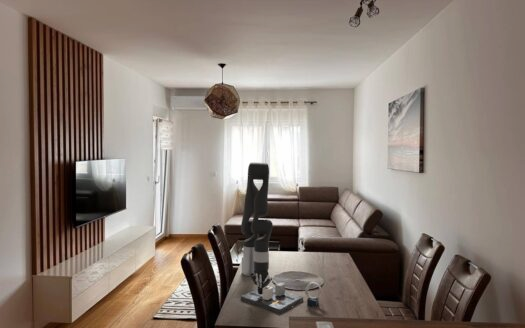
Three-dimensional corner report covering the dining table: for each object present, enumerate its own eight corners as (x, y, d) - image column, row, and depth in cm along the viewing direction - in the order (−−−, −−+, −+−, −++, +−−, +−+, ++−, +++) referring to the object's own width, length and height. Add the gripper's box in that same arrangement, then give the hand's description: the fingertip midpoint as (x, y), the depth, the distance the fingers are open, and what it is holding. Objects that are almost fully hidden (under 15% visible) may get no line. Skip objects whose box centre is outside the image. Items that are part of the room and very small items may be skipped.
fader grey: (275, 294, 186) (275, 284, 186) (280, 292, 190) (280, 282, 190) (279, 296, 185) (280, 286, 184) (285, 293, 188) (285, 283, 188)
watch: (305, 301, 185) (306, 279, 185) (321, 303, 182) (322, 281, 182) (303, 305, 180) (303, 282, 180) (319, 308, 177) (320, 285, 177)
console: (240, 299, 185) (240, 295, 185) (265, 288, 201) (265, 284, 201) (279, 313, 170) (279, 309, 170) (303, 300, 186) (303, 296, 186)
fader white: (262, 298, 181) (262, 288, 181) (268, 295, 185) (268, 285, 185) (267, 300, 179) (267, 289, 179) (272, 297, 183) (273, 287, 183)
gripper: (246, 258, 185) (245, 292, 186) (267, 264, 177) (266, 300, 177) (256, 255, 191) (255, 288, 192) (276, 260, 183) (275, 295, 183)
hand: (260, 294), depth 185 cm, fingers closed
